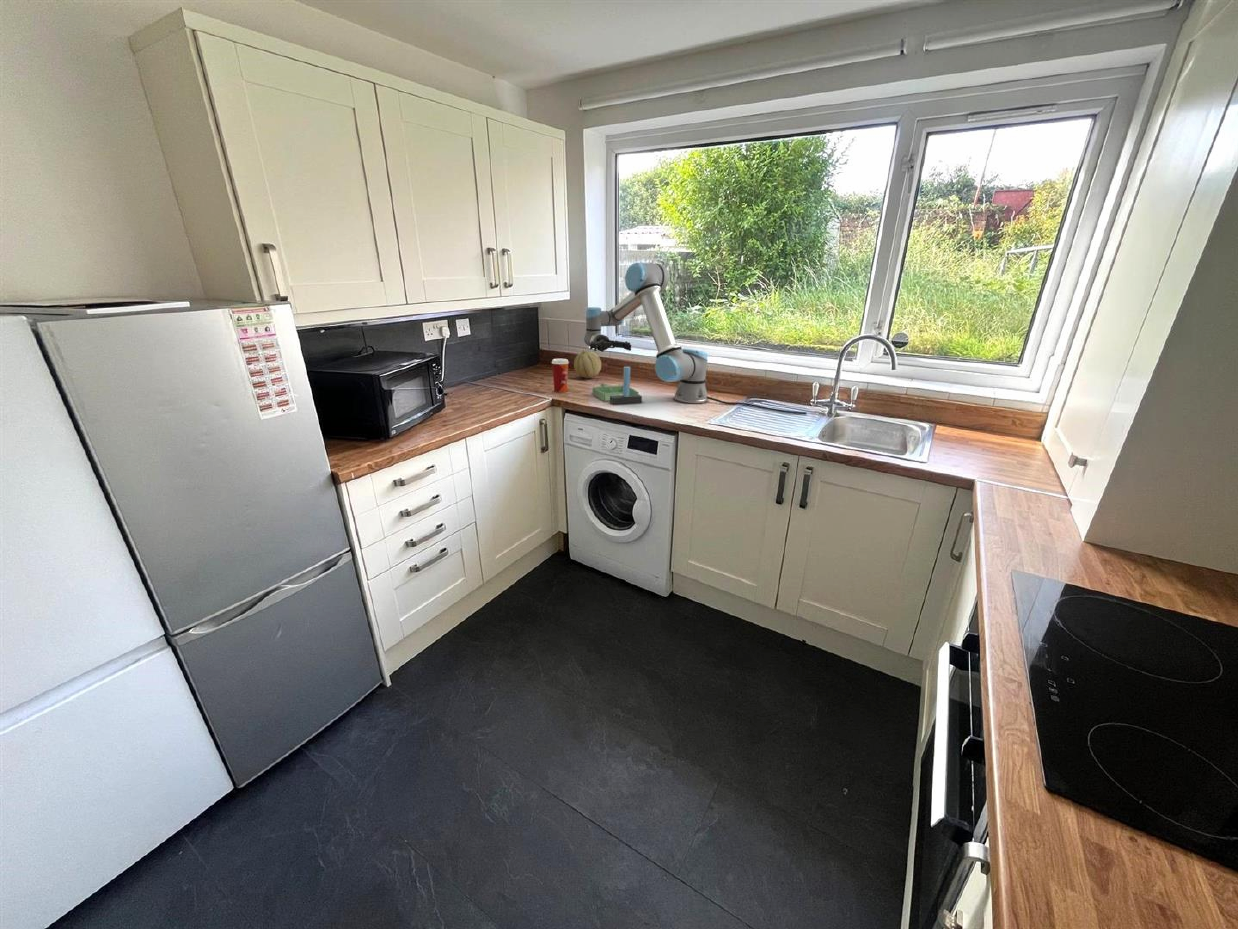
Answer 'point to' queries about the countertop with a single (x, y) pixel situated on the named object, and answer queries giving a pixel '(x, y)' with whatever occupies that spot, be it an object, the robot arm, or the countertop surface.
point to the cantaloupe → (587, 364)
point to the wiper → (626, 391)
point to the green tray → (605, 391)
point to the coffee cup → (560, 374)
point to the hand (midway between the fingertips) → (616, 348)
